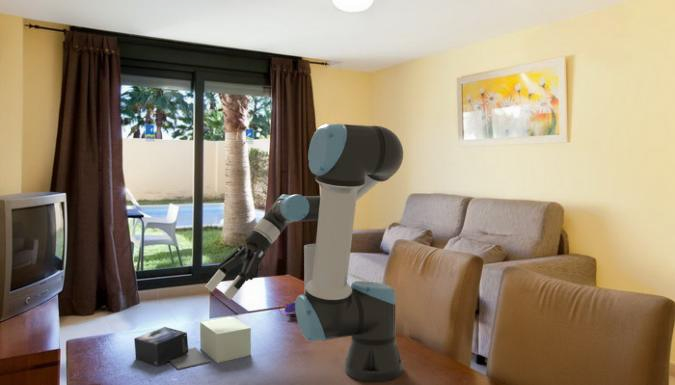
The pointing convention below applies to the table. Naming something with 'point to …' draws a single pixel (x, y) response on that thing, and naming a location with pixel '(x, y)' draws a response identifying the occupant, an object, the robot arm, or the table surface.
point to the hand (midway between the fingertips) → (217, 293)
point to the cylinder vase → (308, 263)
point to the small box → (161, 346)
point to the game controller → (289, 307)
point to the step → (225, 339)
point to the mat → (190, 359)
